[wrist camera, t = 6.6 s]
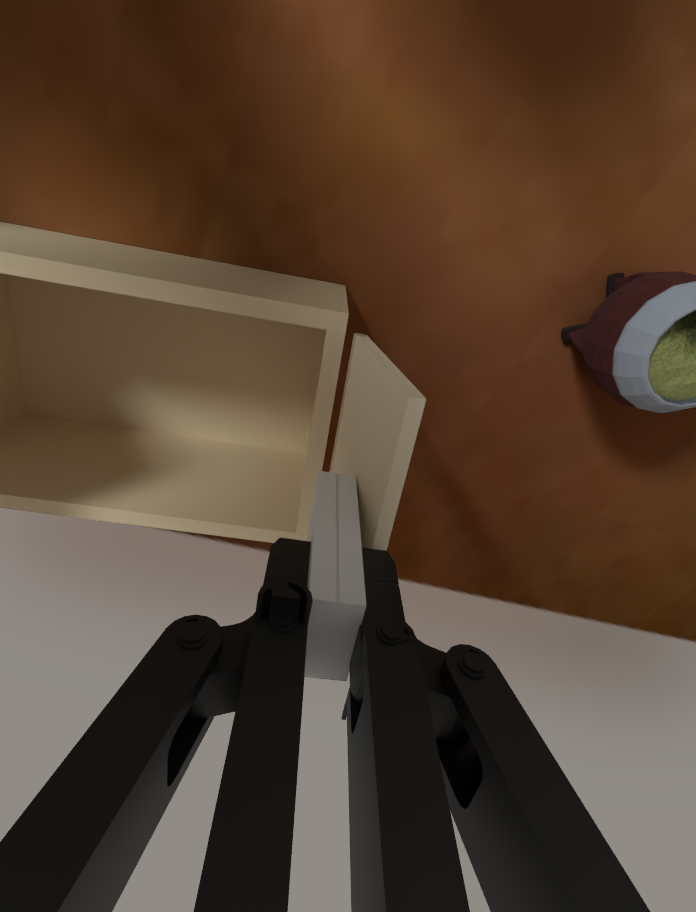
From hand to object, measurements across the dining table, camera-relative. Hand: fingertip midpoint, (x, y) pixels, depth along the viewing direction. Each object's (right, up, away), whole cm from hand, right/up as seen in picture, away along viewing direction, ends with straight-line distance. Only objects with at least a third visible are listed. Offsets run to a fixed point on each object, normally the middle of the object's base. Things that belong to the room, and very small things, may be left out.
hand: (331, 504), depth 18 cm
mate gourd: (+17, +11, +12) cm, 24 cm away
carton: (-10, +8, +12) cm, 18 cm away
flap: (0, +2, +3) cm, 4 cm away
